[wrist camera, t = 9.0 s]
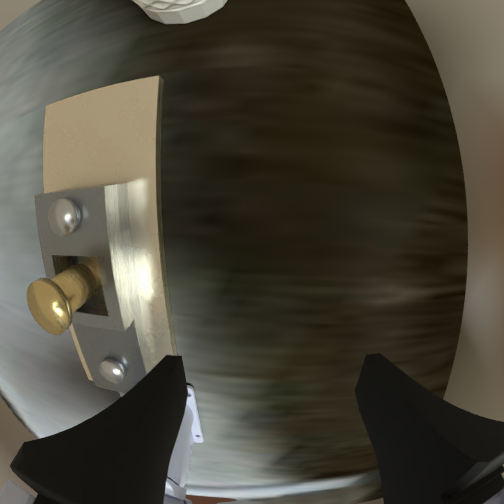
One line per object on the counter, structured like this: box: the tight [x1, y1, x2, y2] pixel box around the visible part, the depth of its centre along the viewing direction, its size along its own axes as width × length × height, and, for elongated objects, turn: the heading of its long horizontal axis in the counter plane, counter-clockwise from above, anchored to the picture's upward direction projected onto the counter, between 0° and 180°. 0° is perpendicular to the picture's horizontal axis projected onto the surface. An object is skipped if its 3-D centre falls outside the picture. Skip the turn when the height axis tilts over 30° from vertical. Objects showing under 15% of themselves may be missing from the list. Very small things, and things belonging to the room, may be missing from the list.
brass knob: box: [27, 256, 102, 335], centre depth 14 cm, size 3×3×7 cm
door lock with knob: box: [35, 76, 178, 394], centre depth 16 cm, size 25×10×5 cm, turn 179°
